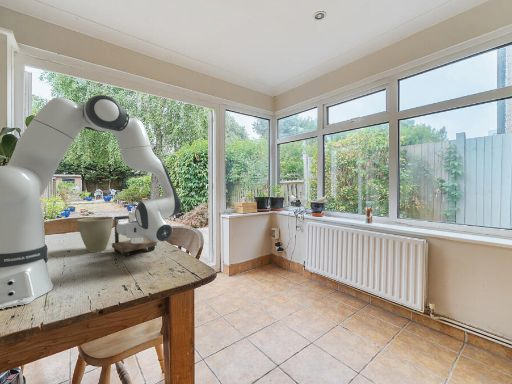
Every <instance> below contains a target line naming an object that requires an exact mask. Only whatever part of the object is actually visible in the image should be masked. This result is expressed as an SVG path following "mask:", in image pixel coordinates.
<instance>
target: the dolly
mask: <svg viewBox="0 0 512 384" xmlns="http://www.w3.org/2000/svg"><path fill="white" fill-rule="evenodd" d="M113 217H114V219H113V221H114V242H112V243H111V247H112V248H113V251H114V252H116V253H120V254H121V257H124V258H126V257H128V256H129V255H130V252H133V251H137V250H143V249H147V250H148V251H150V252H153V251H155V249H156V247H157V246H158V244H157V243H158V242H155V241H152V240H150V239H147V238H143V240H144V242H143V243H140V244H130V239H129V240H122V241H120V236H119V235H120V234H119V233H117V230H116V226H117V224H119V221H120V220H128V217H129V215H120V216H113Z"/></svg>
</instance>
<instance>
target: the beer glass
mask: <svg viewBox="0 0 512 384" xmlns="http://www.w3.org/2000/svg"><path fill="white" fill-rule="evenodd" d="M128 216H129V217H128V219H127V220H128V222H133V221H137V220H136V217H135V211H129V212H128ZM128 222H127V223H128ZM129 240H130V244H140V243H143V242H144V240H143V238H139V237H138V238H129Z"/></svg>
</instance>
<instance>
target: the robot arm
mask: <svg viewBox="0 0 512 384" xmlns="http://www.w3.org/2000/svg"><path fill="white" fill-rule="evenodd" d="M83 129H87V130H90V131H94V132H98V133H105V132H106V133H107V132H110V133H111V134H112V135H113V136H114V137H115V139H116V141H117V143H118V148H119V153H120V156H121V158H122V161H123V163H124V164H125V165H126V166H127V167H129V168H131V169H132V170H135V171H141V172H146V173H150V174H153V175H154V176H155V177H156V178H157V180H158V183H159V186H160V188H161V190H162V193H163V194H162V195H160V196H157V197H153V198H148V199H146V200H142V201H140V202H138V204H137V205H136V208H135V211H134V212H135V217H136V220H137V221H133V222H126V223H118V224H117V226H116V230H117V233H119V235H121V236H126V238H128V239H130V238H138V237H139V238H147V239H150V240H152V241H155V242H157V243H163V242H166V241H168V240H169V239H170V238H171V236H172V234H173V231H174V230H173V227H172V225H170V223H168V222H166V221H165V219H166V218H170V217H174V216H177V215H179V213H180V212H181V209H182V208H183V204H182V200H181V198H180V196H179V194H178V193H177V190H176V189H175V187H174V184H173V182H172V181H173V180H172V179H171V176H170V174H169V172H168V169H167V167H166V165H165V163H164V161H163V159H161V157H157V155H156V154H155V153H154V151H153V149H152V145H151V141H150V137H149V135H148V132H147V129H146V127H145V125H144V123H143V122H142V121H141V120H140V119H138V118H135V117H130V116H129V114H128V113H127V111H125V109H124V108H123V107H122V105H121V104H120V102H118V101H117V100H116V99H114V98H113V97H111V96H109V95H103V94H99V95H93V96H92V97H89V99H88V100H87V101H86V102H85V103H77V102H75V101H73V100H71V99H68V98H66V97H62V96H58V97H57V96H56V97H54V98H51V99H50V100H49V101H48V102H46V103H45V105H44V106H42V107H41V108H40V110H39V111H38V112H37V113H36V115H35V116H34V117H33V118H32V120H31V121H30V123H29V124H28V125H27V127H26V128H25V130H24V131H23V132H22V134H21V135H20V137H19V138H18V140H17V141H16V145H15V147H14V150H13V153H12V155H11V157H10V158H9V161H8V163H7V165H2V166H1V165H0V309H1V308H4V307H9V306H16V307H18V306H17V305H21V306H24V304H25V305H27V304H30V303H31V302H33V301H34V300H35V299H37V298H39V297H41V296H43V295H46V294H47V293H49V292H50V291H51V290H53V289H54V284H53V282H52V280H51V279H52V278H51V276H50V273H49V272H50V271H49V269H48V263H47V262H48V259H49V253H48V252H49V251H48V250H49V249H48V245H47V244H46V238H45V237H46V234H45V219H44V216H43V210H42V209H43V208H42V203H41V196H42V195H43V194H44V193H45V191H46V190H47V188H48V185H50V183H51V180H52V178H53V177H54V175H55V173H56V171H57V170H58V168H59V166H60V163H61V162H62V160H63V159H64V157H65V155H66V154H67V152H68V151H69V149H70V148H71V146H72V144H73V143H74V141H75V139H76V138H77V136H79V133H80V132H81V131H82V130H83Z"/></svg>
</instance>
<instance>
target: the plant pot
mask: <svg viewBox="0 0 512 384" xmlns="http://www.w3.org/2000/svg"><path fill="white" fill-rule="evenodd" d="M114 217H115V216H93V217H86V218H85V217H84V218H80V219H77V220H76V221H77V225H78V230H79V233H80V237H81V239H82V242H83V244H84V247H85V248H86V251H87V252H88V253H97V252H103V251H105V250H106V249H107V247H108V244H109V241H110V239H111V234H112V230H113V225H114Z"/></svg>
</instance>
